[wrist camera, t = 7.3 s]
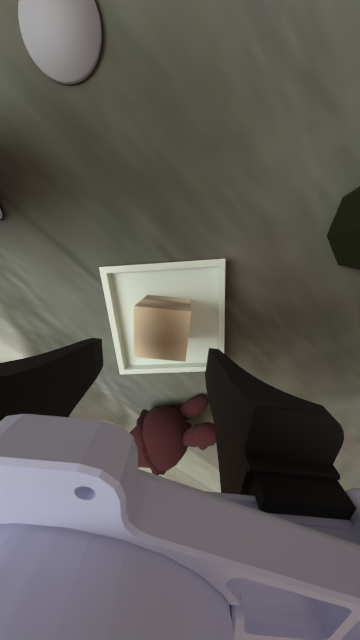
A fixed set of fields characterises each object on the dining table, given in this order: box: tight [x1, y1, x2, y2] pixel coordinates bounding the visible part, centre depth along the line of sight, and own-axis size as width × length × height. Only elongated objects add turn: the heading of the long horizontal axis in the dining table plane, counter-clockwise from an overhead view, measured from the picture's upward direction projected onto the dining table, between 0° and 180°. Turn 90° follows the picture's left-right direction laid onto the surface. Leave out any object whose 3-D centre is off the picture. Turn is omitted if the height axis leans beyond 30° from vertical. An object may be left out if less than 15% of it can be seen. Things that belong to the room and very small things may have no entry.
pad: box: [18, 0, 102, 85], centre depth 13 cm, size 6×6×1 cm
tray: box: [99, 259, 225, 374], centre depth 19 cm, size 12×12×2 cm
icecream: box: [130, 395, 216, 475], centre depth 21 cm, size 7×7×15 cm
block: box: [133, 295, 191, 362], centre depth 17 cm, size 4×4×5 cm
